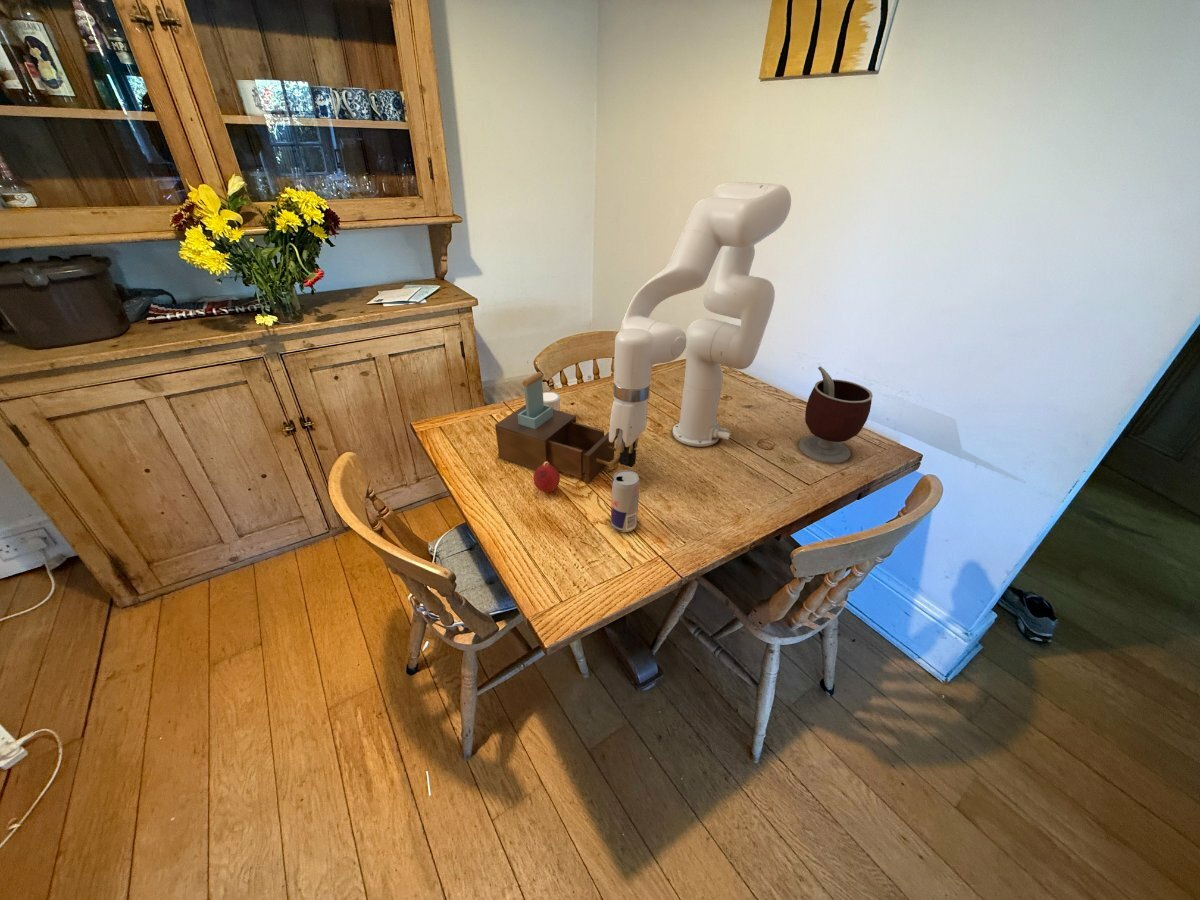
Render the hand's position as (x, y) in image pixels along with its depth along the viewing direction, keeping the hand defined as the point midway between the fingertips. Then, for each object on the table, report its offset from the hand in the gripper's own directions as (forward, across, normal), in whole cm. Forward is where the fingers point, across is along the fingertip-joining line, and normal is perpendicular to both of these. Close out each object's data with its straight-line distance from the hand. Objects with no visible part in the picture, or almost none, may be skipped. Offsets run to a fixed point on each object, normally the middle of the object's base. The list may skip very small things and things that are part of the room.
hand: (627, 464), depth 105 cm
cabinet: (+5, 0, -25) cm, 26 cm away
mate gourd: (+5, -38, +38) cm, 54 cm away
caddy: (-4, 0, -25) cm, 25 cm away
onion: (+6, +12, -14) cm, 19 cm away
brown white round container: (+5, -17, -33) cm, 37 cm away
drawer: (+4, 0, -11) cm, 12 cm away
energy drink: (+5, +13, +6) cm, 16 cm away
